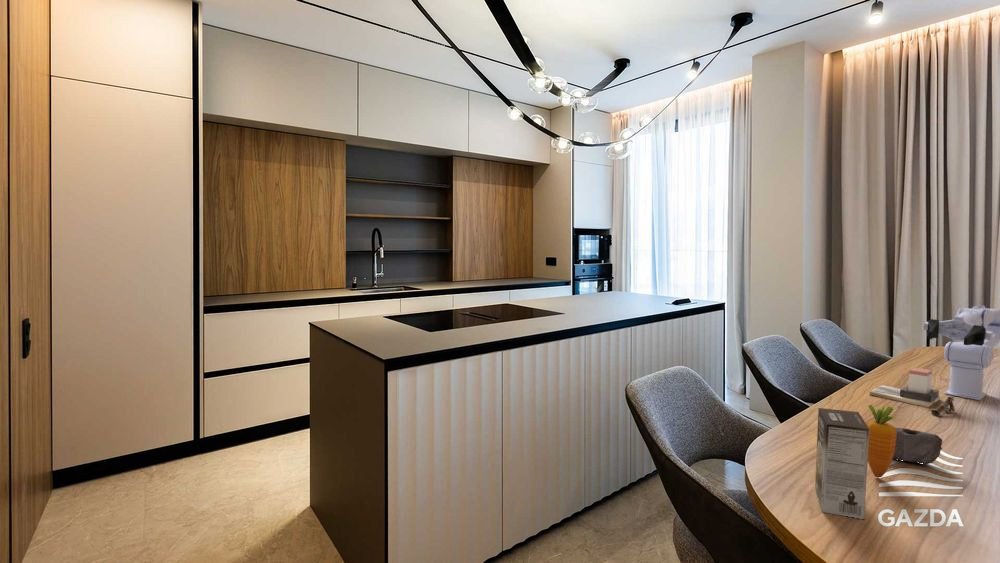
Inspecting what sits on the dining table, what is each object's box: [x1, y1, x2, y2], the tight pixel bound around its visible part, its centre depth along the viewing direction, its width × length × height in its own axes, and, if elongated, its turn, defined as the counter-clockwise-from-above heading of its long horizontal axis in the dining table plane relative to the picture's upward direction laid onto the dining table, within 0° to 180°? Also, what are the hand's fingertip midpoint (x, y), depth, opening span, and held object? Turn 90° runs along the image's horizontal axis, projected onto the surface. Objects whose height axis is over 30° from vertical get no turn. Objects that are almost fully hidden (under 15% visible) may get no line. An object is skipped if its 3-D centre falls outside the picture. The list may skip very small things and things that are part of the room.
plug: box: [908, 367, 933, 394], centre depth 144 cm, size 5×4×8 cm
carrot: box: [865, 404, 897, 478], centre depth 97 cm, size 5×5×15 cm
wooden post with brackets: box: [930, 396, 955, 417], centre depth 133 cm, size 2×8×4 cm, turn 110°
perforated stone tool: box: [892, 426, 943, 466], centre depth 106 cm, size 15×5×7 cm, turn 45°
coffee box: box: [814, 407, 870, 520], centre depth 87 cm, size 9×6×16 cm
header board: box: [869, 384, 941, 408], centre depth 147 cm, size 11×14×3 cm
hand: (947, 338), depth 136 cm, fingers open, 7 cm apart
